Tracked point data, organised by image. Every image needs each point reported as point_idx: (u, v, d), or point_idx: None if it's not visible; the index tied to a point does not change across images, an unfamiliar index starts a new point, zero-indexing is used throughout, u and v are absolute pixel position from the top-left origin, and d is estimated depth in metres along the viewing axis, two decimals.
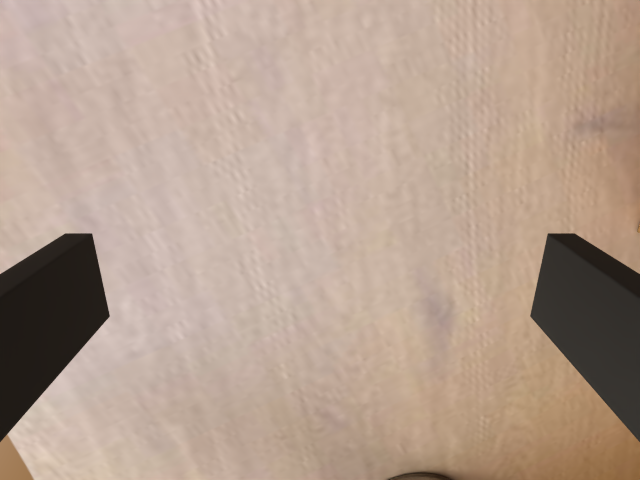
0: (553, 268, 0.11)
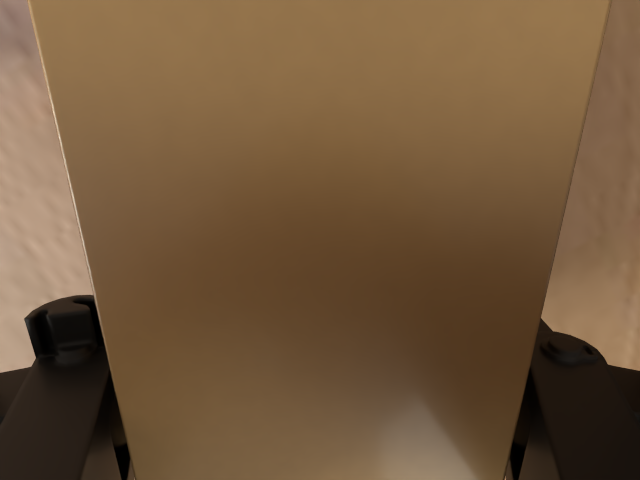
0: None
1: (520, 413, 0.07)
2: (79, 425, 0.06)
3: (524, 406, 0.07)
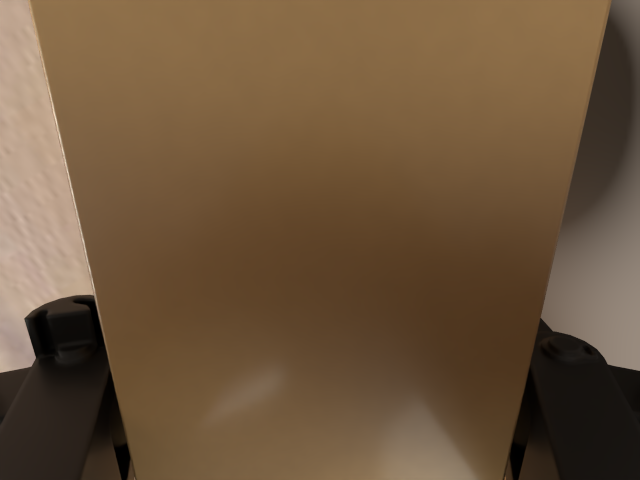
0: None
1: (520, 413, 0.07)
2: (79, 425, 0.06)
3: (524, 406, 0.07)
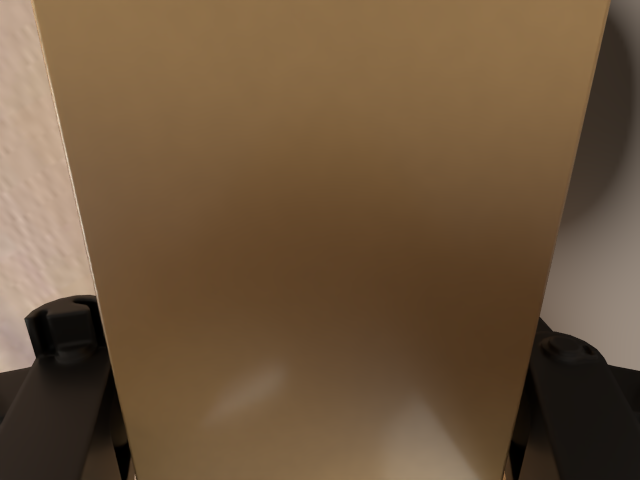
0: None
1: (520, 413, 0.07)
2: (79, 425, 0.06)
3: (524, 406, 0.07)
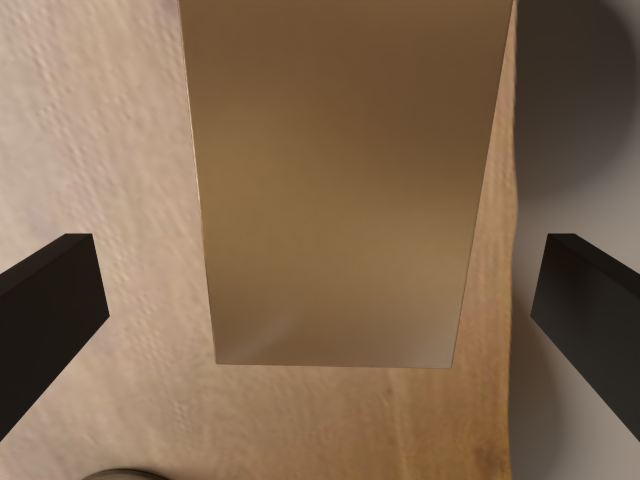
0: (553, 268, 0.12)
1: None
2: None
3: None
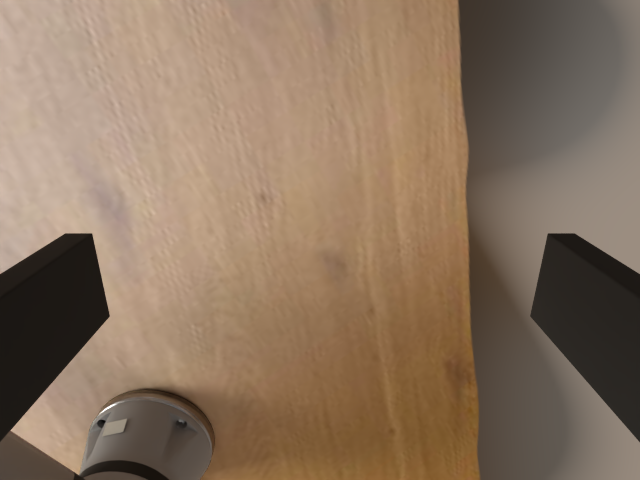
0: (553, 268, 0.11)
1: None
2: None
3: None
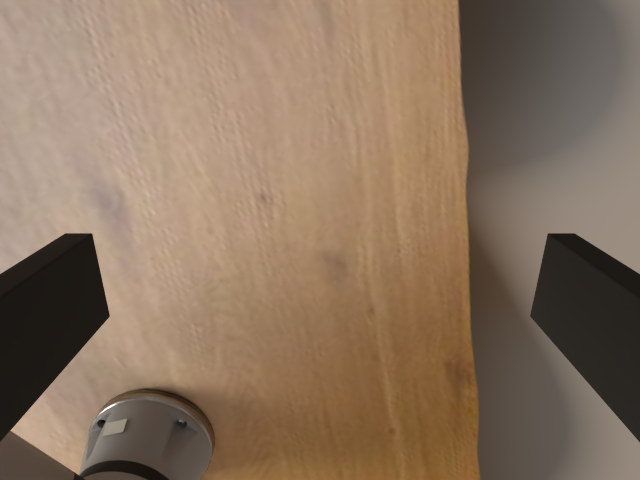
0: (553, 268, 0.11)
1: None
2: None
3: None
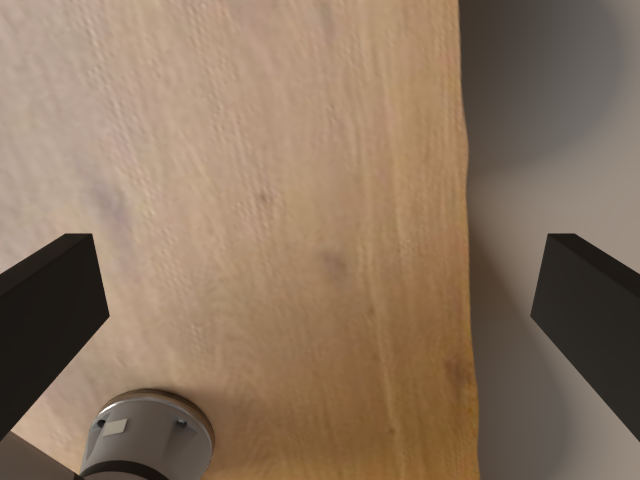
0: (553, 268, 0.11)
1: None
2: None
3: None
